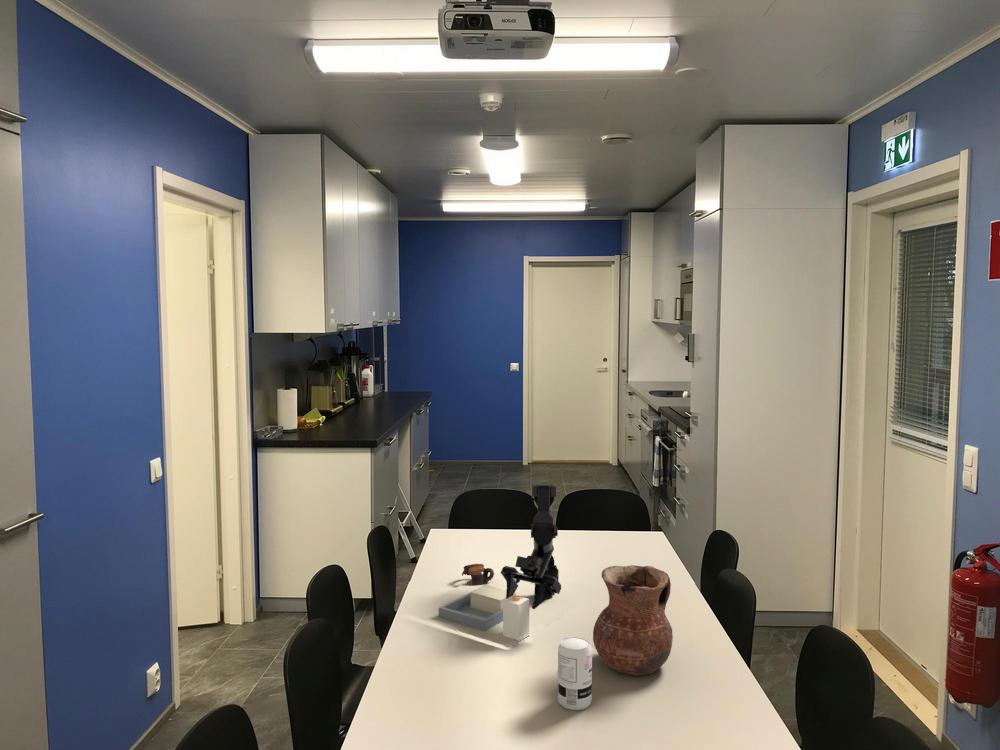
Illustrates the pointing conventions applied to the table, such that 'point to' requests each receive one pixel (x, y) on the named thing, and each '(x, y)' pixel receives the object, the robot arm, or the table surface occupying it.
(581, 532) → the table surface
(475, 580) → the pottery mug
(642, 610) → the jug
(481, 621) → the tote
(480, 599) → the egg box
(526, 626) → the juice carton
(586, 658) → the supplement can
